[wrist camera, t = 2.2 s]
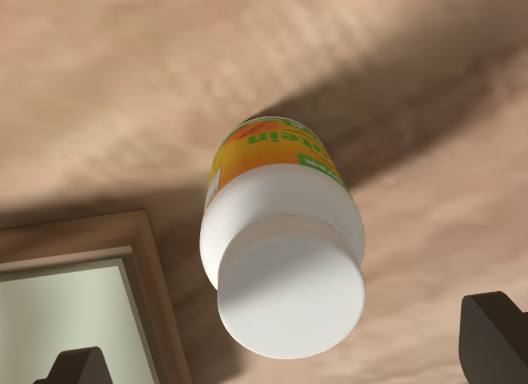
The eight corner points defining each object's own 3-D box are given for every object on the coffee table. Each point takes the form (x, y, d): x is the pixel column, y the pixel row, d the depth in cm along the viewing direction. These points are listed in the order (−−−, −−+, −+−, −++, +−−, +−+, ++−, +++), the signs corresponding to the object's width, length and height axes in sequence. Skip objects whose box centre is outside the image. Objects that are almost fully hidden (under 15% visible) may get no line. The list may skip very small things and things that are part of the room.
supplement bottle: (343, 128, 20) (425, 233, 11) (310, 232, 22) (357, 391, 13) (224, 101, 19) (211, 190, 10) (201, 211, 21) (173, 364, 12)
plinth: (146, 209, 21) (126, 253, 18) (195, 394, 26) (188, 459, 22) (-105, 244, 21) (-176, 295, 18) (-10, 421, 26) (-50, 491, 22)
